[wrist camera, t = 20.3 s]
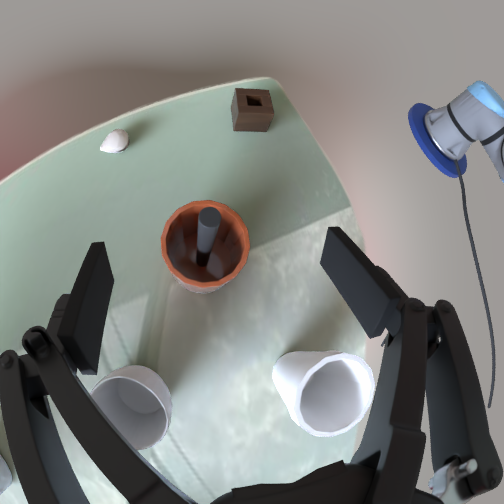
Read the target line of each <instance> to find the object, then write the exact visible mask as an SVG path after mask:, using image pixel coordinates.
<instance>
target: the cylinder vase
mask: <svg viewBox="0 0 504 504" xmlns="http://www.w3.org/2000/svg"><path fill="white" fill-rule="evenodd" d="M11 484H12V475H11V472H10V470H9V467H8V465H7V464H6V462H5V460H4V459H3V457H2V456H1V455H0V495H1V494H2V493H3V492H4V491H5V490H6V489H7V488H8V487H9V486H10V485H11Z"/></svg>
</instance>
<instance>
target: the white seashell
mask: <svg viewBox="0 0 504 504" xmlns="http://www.w3.org/2000/svg"><path fill="white" fill-rule="evenodd" d="M128 145H129V137H128V134H127V132H126V131H125V130H122V129H116V130H113V131H112V132H111V133H110V134H109V135H108V136H107V137H106V139H105V140H104V142H103V143H102V145H101V147H100V150H102V151H105V152H109V153H120V152H122V151H124V150H125V149H126V148H127V147H128Z"/></svg>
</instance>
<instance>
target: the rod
mask: <svg viewBox="0 0 504 504" xmlns="http://www.w3.org/2000/svg"><path fill="white" fill-rule="evenodd" d="M220 222H221V214H220V212H219V211H218V210H217V209H216V208H214V207H205V208H203V209H202V210H201V211H200V213H199V217H198V234H197V254H196V263H197V264H198V265H199V266H200V267H204V266H206V265H207V264H208V261H209V257H210V254H211V251H212V247H213V244H214V241H215V238H216V234H217V231H218V228H219V225H220Z"/></svg>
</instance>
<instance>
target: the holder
mask: <svg viewBox="0 0 504 504" xmlns="http://www.w3.org/2000/svg"><path fill="white" fill-rule="evenodd" d="M231 112H232V121H233V130H234V131H254V132H267V129H268V127H269V125H270V123H271V120H272V118H273V116H274V110H273V106H272V102H271V97H270V93H269V90H261V89H244V88H235V92H234V96H233V101H232V105H231Z"/></svg>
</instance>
